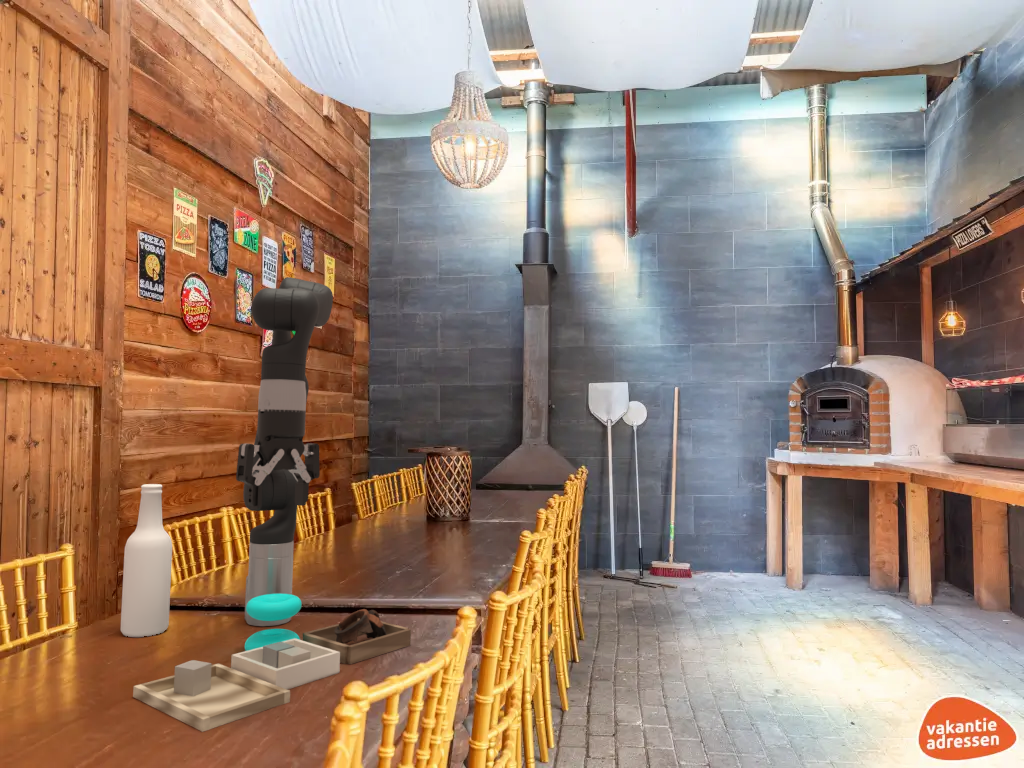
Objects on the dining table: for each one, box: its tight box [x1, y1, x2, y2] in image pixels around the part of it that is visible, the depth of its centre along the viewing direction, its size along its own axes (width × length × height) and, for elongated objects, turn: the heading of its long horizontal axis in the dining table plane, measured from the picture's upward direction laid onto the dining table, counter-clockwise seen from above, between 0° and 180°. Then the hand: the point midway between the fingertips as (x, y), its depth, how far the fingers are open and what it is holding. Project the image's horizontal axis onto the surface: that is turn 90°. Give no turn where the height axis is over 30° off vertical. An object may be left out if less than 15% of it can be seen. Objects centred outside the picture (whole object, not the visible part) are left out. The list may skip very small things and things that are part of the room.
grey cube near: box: [278, 647, 311, 668], centre depth 119 cm, size 4×4×4 cm
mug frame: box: [302, 618, 412, 665], centre depth 138 cm, size 14×16×3 cm
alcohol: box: [120, 483, 173, 638], centre depth 147 cm, size 9×9×30 cm
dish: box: [230, 638, 341, 690], centre depth 121 cm, size 13×13×4 cm
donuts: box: [244, 594, 302, 651], centre depth 135 cm, size 10×10×10 cm
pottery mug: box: [334, 608, 387, 645], centre depth 139 cm, size 12×10×8 cm
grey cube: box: [263, 642, 295, 669], centre depth 122 cm, size 4×4×4 cm
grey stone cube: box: [174, 659, 213, 696], centre depth 112 cm, size 4×4×4 cm
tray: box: [132, 663, 291, 733], centre depth 109 cm, size 20×14×2 cm
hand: (278, 507), depth 117 cm, fingers open, 8 cm apart
